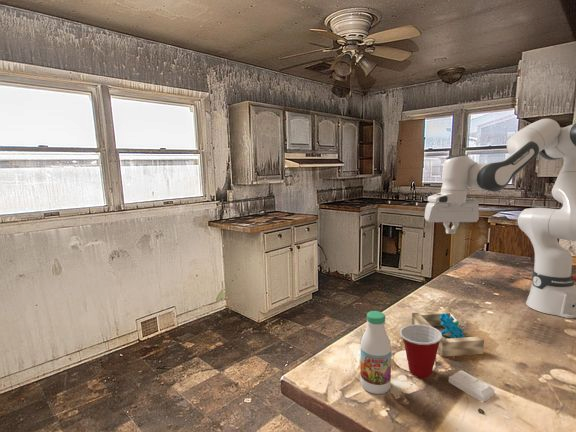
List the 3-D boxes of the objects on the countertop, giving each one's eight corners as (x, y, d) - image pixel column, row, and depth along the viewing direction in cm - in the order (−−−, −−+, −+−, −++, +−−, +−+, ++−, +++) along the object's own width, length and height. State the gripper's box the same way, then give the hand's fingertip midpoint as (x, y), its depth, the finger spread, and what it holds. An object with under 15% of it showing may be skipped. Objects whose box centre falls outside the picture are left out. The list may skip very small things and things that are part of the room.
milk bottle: (356, 377, 89) (356, 308, 86) (383, 374, 90) (384, 306, 87) (365, 396, 82) (366, 322, 79) (395, 393, 82) (396, 320, 79)
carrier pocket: (446, 322, 118) (447, 310, 117) (483, 353, 98) (484, 339, 98) (411, 324, 117) (412, 313, 117) (441, 356, 97) (442, 342, 97)
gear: (459, 344, 101) (438, 315, 105) (444, 352, 104) (424, 323, 109) (471, 335, 108) (451, 308, 113) (456, 343, 112) (437, 316, 116)
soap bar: (459, 376, 89) (460, 368, 88) (494, 396, 81) (494, 386, 81) (448, 383, 86) (448, 374, 86) (482, 404, 79) (483, 394, 78)
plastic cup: (402, 356, 98) (402, 319, 96) (441, 365, 93) (443, 326, 91) (395, 377, 89) (396, 337, 87) (439, 389, 84) (441, 346, 82)
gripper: (473, 197, 127) (470, 231, 129) (423, 197, 125) (421, 232, 127) (484, 198, 121) (481, 234, 123) (432, 198, 119) (429, 235, 121)
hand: (450, 233), depth 125 cm, fingers closed
